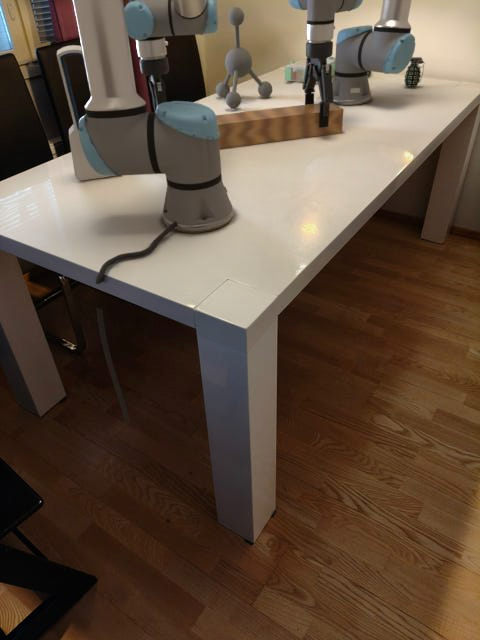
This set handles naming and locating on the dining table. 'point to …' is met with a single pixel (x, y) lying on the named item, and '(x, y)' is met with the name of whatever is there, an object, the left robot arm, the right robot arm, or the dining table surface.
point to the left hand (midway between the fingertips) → (164, 140)
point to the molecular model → (239, 66)
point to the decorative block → (303, 70)
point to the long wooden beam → (276, 125)
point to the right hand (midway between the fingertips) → (315, 121)
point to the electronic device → (75, 118)
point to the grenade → (413, 72)
